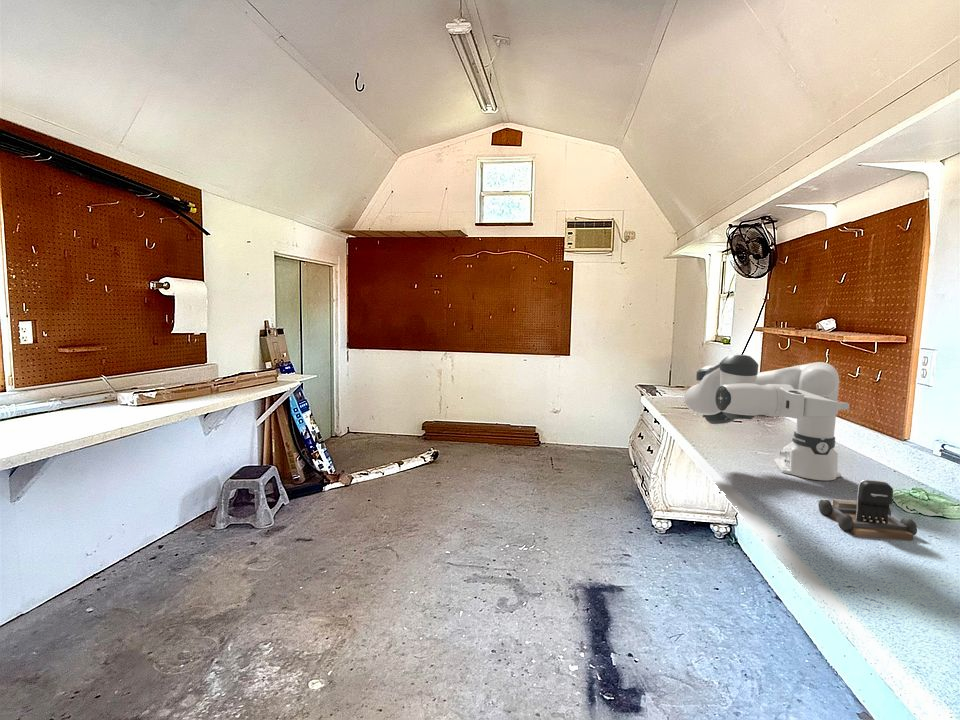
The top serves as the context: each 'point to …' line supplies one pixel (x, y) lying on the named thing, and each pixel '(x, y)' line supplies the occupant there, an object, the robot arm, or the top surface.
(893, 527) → the chassis
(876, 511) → the battery
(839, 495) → the top surface
